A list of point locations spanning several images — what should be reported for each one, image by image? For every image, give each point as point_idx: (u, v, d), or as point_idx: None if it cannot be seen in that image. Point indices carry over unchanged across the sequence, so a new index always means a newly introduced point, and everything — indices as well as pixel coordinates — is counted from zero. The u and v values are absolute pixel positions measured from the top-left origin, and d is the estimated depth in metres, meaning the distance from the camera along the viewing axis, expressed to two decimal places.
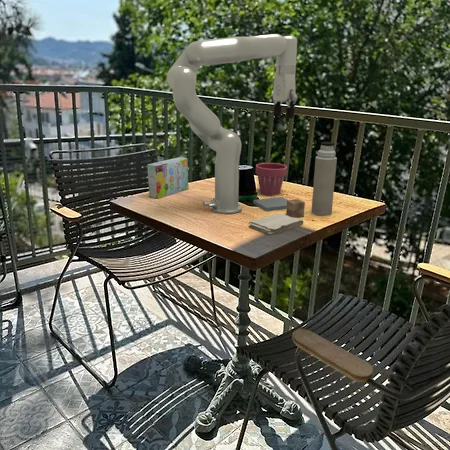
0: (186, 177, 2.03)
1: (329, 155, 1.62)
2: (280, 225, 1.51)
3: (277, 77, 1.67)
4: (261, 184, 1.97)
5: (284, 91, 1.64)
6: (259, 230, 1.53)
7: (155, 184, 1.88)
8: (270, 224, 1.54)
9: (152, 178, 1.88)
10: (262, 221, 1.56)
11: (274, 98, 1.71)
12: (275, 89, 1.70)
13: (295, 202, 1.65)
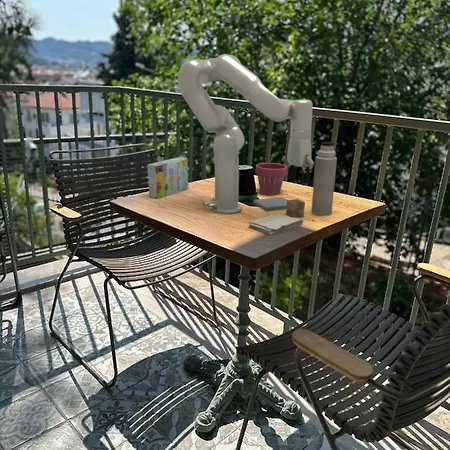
0: (186, 177, 2.03)
1: (329, 155, 1.62)
2: (280, 225, 1.51)
3: (292, 141, 1.60)
4: (261, 184, 1.97)
5: (299, 156, 1.56)
6: (259, 230, 1.53)
7: (155, 184, 1.88)
8: (270, 224, 1.54)
9: (152, 178, 1.88)
10: (262, 221, 1.56)
11: (289, 162, 1.64)
12: (290, 152, 1.62)
13: (295, 202, 1.65)
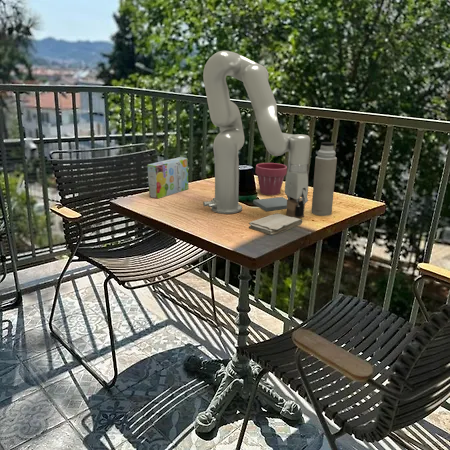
0: (186, 177, 2.03)
1: (329, 155, 1.62)
2: (281, 225, 1.51)
3: (289, 173, 1.64)
4: (261, 184, 1.97)
5: (296, 190, 1.61)
6: (260, 231, 1.52)
7: (155, 184, 1.88)
8: (271, 224, 1.54)
9: (152, 178, 1.88)
10: (262, 221, 1.55)
11: (286, 193, 1.68)
12: (287, 184, 1.66)
13: (295, 202, 1.65)
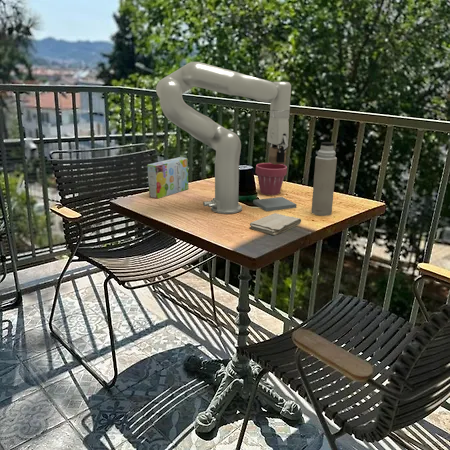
0: (186, 177, 2.03)
1: (329, 155, 1.62)
2: (282, 225, 1.52)
3: (271, 120, 1.70)
4: (261, 184, 1.97)
5: (277, 135, 1.67)
6: (262, 231, 1.52)
7: (155, 184, 1.88)
8: (272, 224, 1.53)
9: (152, 178, 1.88)
10: (263, 222, 1.55)
11: (268, 140, 1.74)
12: (269, 131, 1.72)
13: (277, 148, 1.72)
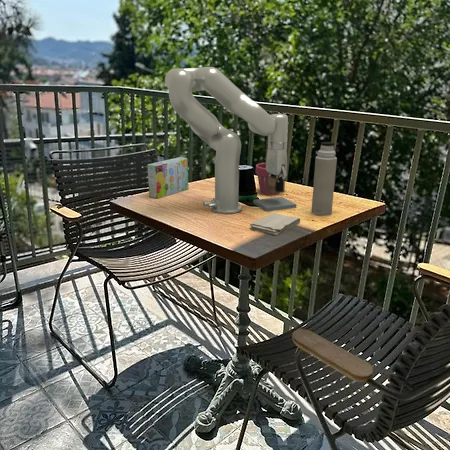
0: (186, 177, 2.03)
1: (329, 155, 1.62)
2: (283, 225, 1.52)
3: (269, 151, 1.75)
4: (261, 184, 1.97)
5: (276, 166, 1.71)
6: (263, 231, 1.51)
7: (155, 184, 1.88)
8: (272, 224, 1.53)
9: (152, 178, 1.88)
10: (263, 222, 1.55)
11: (267, 170, 1.79)
12: (268, 161, 1.77)
13: (276, 178, 1.76)
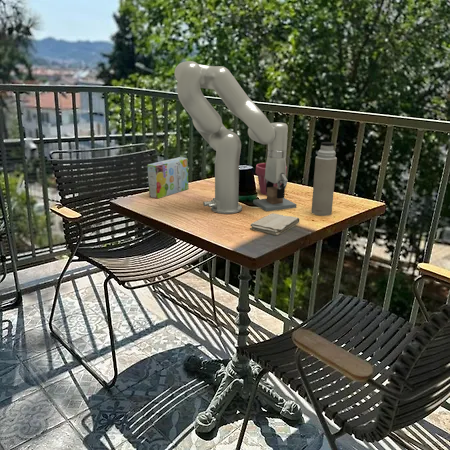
0: (186, 177, 2.03)
1: (329, 155, 1.62)
2: (284, 225, 1.52)
3: (269, 159, 1.76)
4: (261, 184, 1.97)
5: (275, 174, 1.72)
6: (264, 232, 1.51)
7: (155, 184, 1.88)
8: (273, 224, 1.53)
9: (152, 178, 1.88)
10: (263, 222, 1.54)
11: (266, 178, 1.80)
12: (267, 170, 1.78)
13: (274, 189, 1.78)
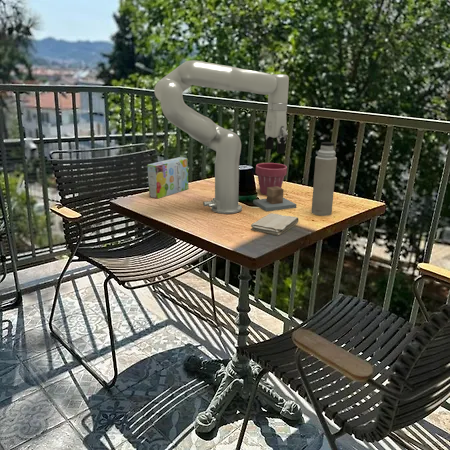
0: (186, 177, 2.03)
1: (329, 155, 1.62)
2: (285, 225, 1.52)
3: (269, 113, 1.70)
4: (261, 184, 1.97)
5: (275, 127, 1.67)
6: (265, 232, 1.51)
7: (155, 184, 1.88)
8: (274, 224, 1.53)
9: (152, 178, 1.88)
10: (264, 223, 1.54)
11: (266, 133, 1.74)
12: (267, 124, 1.73)
13: (274, 189, 1.78)
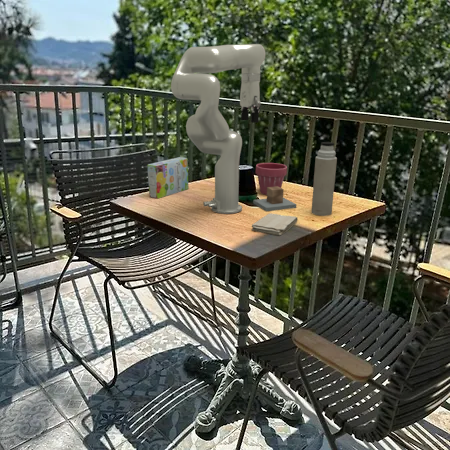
0: (186, 177, 2.03)
1: (329, 155, 1.62)
2: (285, 224, 1.52)
3: (243, 84, 1.78)
4: (261, 184, 1.97)
5: (249, 97, 1.75)
6: (266, 232, 1.51)
7: (155, 184, 1.88)
8: (274, 224, 1.53)
9: (152, 178, 1.88)
10: (264, 223, 1.54)
11: (241, 104, 1.82)
12: (241, 95, 1.81)
13: (274, 189, 1.78)
